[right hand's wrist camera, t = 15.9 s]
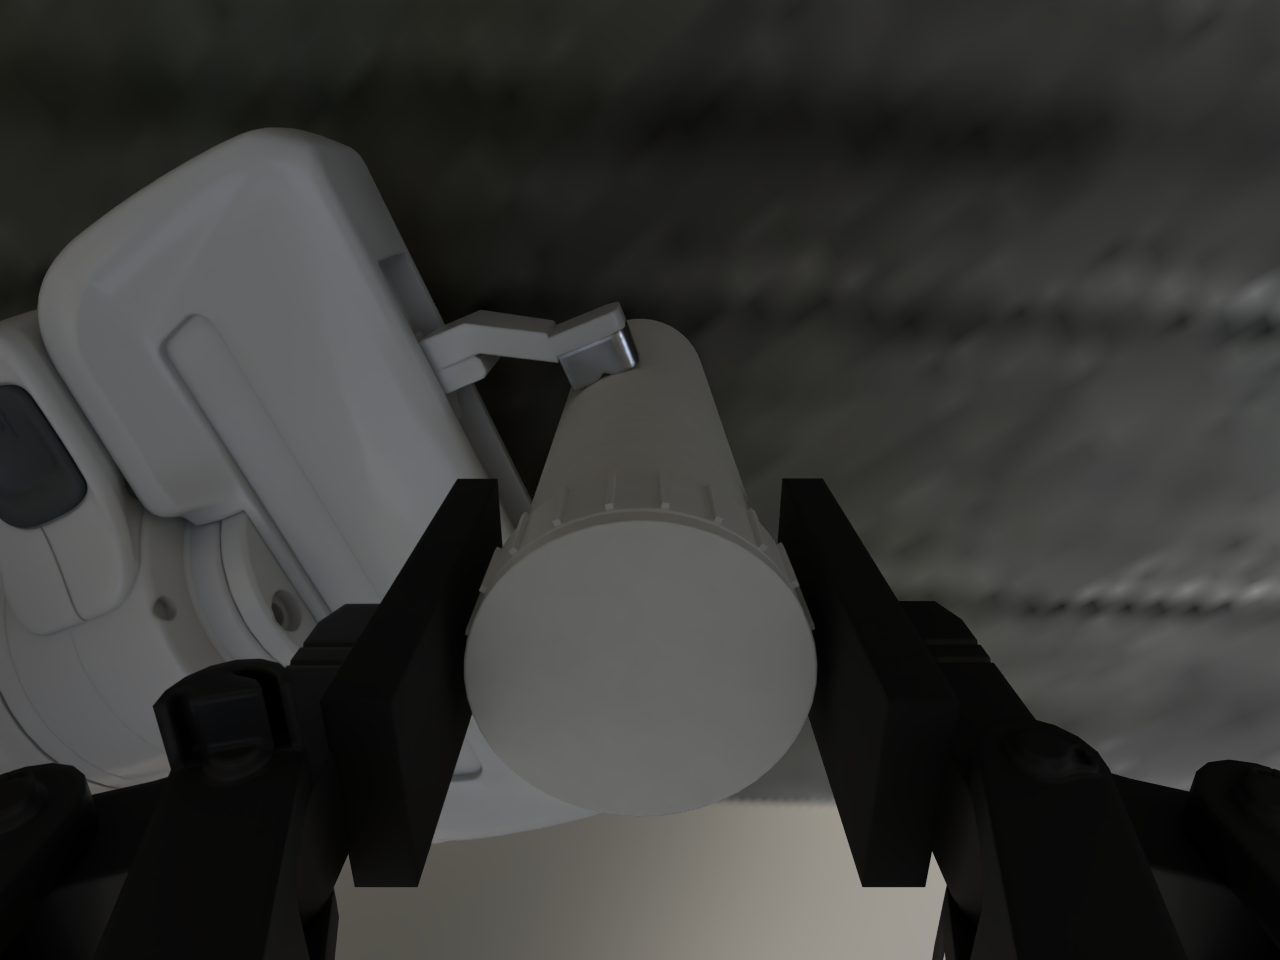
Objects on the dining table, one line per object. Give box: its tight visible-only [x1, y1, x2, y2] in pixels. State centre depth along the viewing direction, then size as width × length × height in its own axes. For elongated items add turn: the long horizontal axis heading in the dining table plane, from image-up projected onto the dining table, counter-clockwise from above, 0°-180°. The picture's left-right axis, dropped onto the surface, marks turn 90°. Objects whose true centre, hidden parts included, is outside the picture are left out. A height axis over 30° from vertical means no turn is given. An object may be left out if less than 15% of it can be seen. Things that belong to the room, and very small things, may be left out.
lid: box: [464, 471, 818, 817], centre depth 11 cm, size 5×5×2 cm
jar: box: [528, 319, 750, 515], centre depth 19 cm, size 4×4×16 cm
